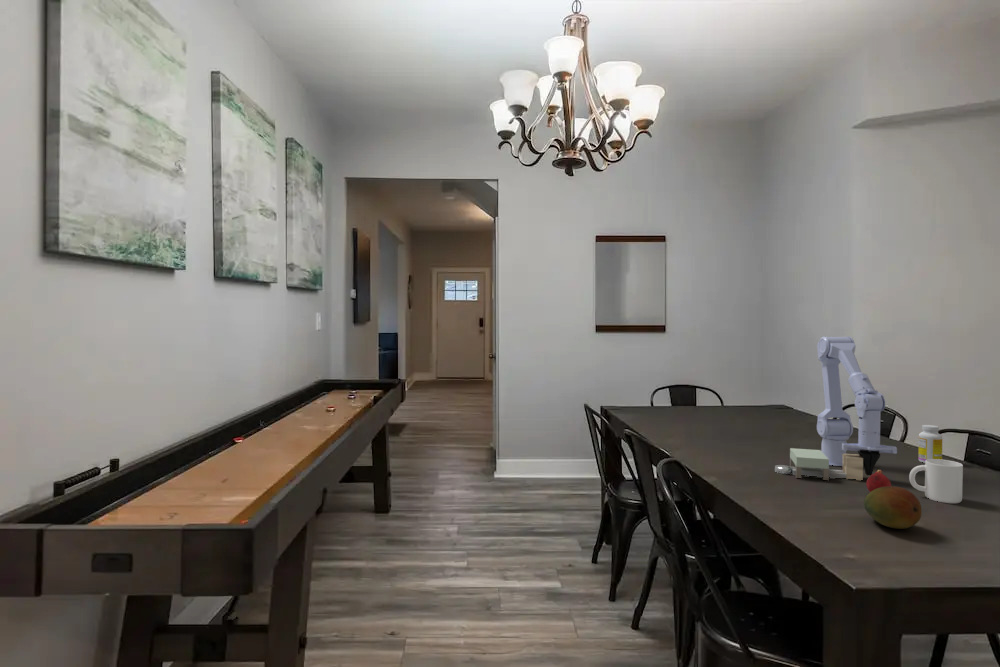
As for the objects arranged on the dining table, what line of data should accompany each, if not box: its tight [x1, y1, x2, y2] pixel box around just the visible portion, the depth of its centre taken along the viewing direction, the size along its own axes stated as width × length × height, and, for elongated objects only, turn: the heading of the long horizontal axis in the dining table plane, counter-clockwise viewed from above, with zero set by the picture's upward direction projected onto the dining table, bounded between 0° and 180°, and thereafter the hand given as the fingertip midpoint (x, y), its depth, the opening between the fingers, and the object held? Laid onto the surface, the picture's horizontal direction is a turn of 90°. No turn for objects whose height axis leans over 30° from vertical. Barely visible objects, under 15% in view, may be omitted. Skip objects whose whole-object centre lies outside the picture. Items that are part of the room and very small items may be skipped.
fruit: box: [863, 485, 923, 530], centre depth 139 cm, size 12×13×10 cm
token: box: [774, 464, 792, 475], centre depth 188 cm, size 5×5×2 cm
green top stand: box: [789, 447, 830, 482], centre depth 185 cm, size 13×9×7 cm
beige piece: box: [791, 453, 864, 481], centre depth 184 cm, size 5×20×7 cm, turn 71°
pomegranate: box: [865, 469, 892, 493], centre depth 161 cm, size 6×6×8 cm
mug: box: [908, 459, 964, 504], centre depth 161 cm, size 12×8×10 cm
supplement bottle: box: [917, 424, 943, 464], centre depth 200 cm, size 7×7×13 cm
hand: (868, 474), depth 180 cm, fingers closed
